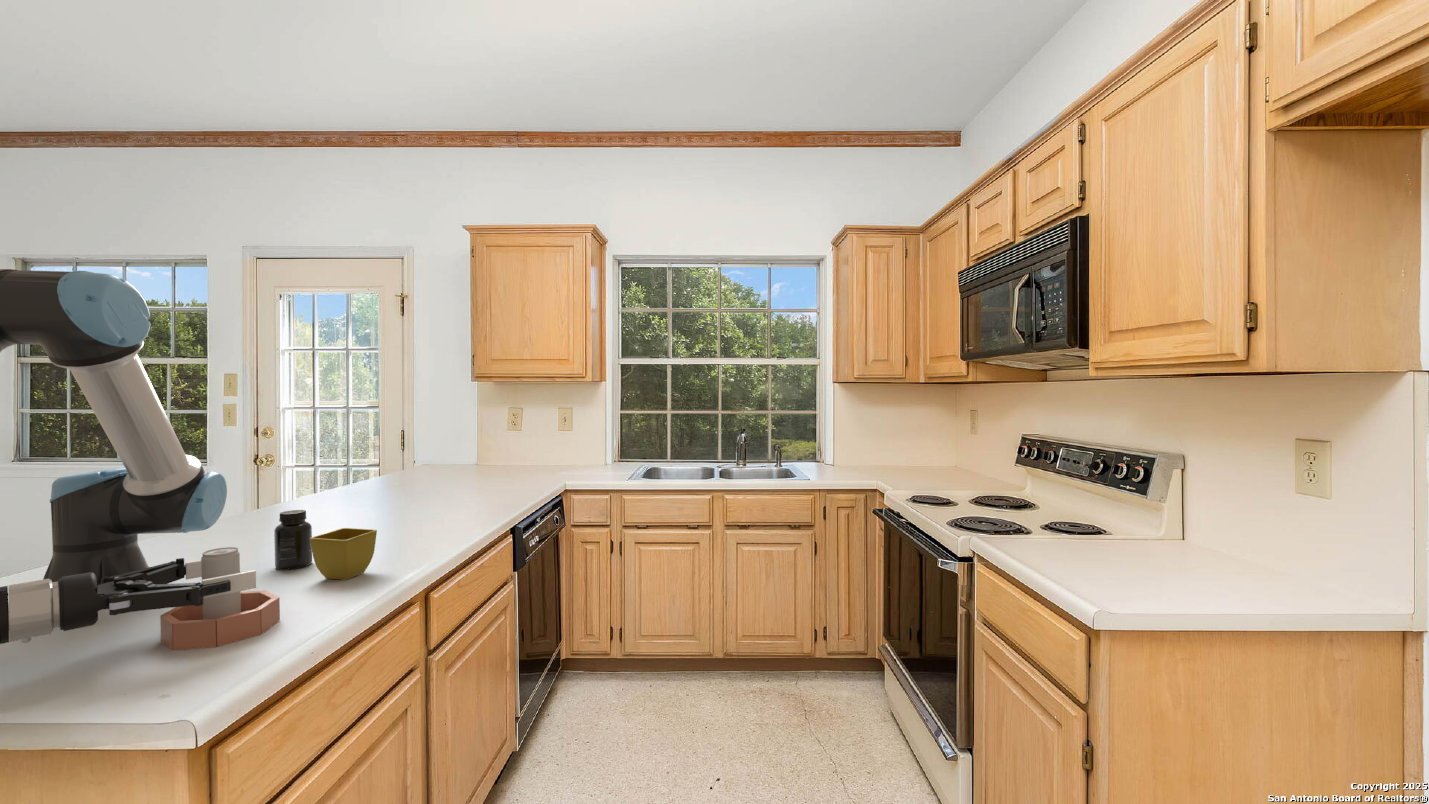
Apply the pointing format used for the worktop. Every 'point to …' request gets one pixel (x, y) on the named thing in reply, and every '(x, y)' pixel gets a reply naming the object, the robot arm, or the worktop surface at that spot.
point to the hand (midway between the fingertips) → (245, 570)
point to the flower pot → (343, 552)
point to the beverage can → (216, 566)
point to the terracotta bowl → (219, 623)
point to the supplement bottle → (293, 540)
